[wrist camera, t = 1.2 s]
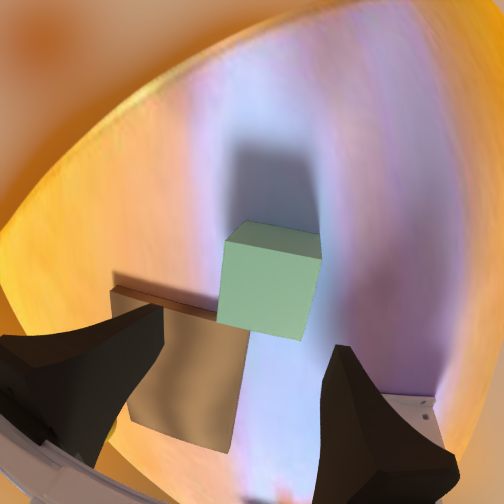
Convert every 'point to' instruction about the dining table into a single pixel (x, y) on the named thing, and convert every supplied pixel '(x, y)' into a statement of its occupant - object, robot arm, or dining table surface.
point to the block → (269, 279)
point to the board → (189, 373)
